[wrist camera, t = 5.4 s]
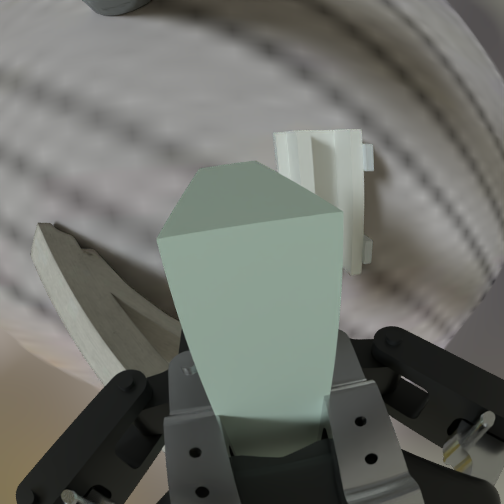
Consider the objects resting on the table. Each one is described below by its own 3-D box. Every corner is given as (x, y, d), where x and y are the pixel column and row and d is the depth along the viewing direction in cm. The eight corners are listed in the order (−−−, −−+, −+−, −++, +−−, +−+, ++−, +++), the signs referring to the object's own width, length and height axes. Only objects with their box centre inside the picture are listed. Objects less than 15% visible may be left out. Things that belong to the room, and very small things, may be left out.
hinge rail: (273, 133, 24) (285, 131, 20) (348, 130, 25) (373, 129, 20) (284, 265, 30) (296, 289, 25) (351, 254, 30) (371, 274, 26)
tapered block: (199, 168, 11) (156, 239, 3) (274, 158, 11) (391, 205, 3) (236, 360, 15) (253, 493, 8) (288, 351, 16) (329, 477, 8)
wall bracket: (161, 228, 43) (304, 361, 35) (149, 249, 44) (284, 380, 36) (37, 222, 22) (235, 475, 14) (30, 254, 23) (206, 488, 15)
